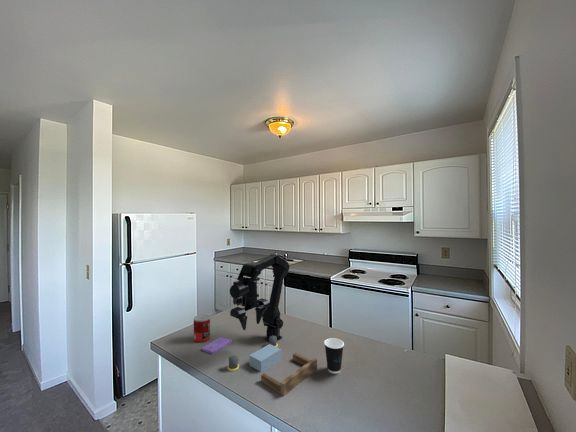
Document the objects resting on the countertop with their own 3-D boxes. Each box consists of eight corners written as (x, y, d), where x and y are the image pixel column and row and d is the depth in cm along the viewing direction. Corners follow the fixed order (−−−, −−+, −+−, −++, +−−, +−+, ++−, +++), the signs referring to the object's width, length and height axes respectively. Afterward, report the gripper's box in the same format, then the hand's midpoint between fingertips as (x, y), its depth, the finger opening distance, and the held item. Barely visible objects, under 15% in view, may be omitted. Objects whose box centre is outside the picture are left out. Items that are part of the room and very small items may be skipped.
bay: (295, 358, 110) (295, 349, 110) (317, 369, 102) (317, 359, 102) (261, 381, 95) (261, 370, 95) (283, 395, 87) (283, 384, 87)
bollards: (272, 342, 124) (272, 334, 124) (279, 345, 121) (279, 337, 121) (225, 368, 103) (225, 358, 103) (232, 372, 100) (232, 362, 100)
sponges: (201, 351, 117) (201, 347, 117) (221, 339, 128) (221, 336, 128) (212, 355, 114) (212, 351, 114) (231, 343, 125) (231, 339, 125)
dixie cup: (339, 378, 96) (339, 350, 96) (320, 371, 101) (320, 344, 101) (347, 368, 103) (347, 341, 103) (329, 362, 107) (329, 336, 107)
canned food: (205, 343, 124) (205, 321, 124) (190, 341, 125) (190, 319, 125) (212, 336, 131) (212, 314, 131) (198, 334, 133) (198, 313, 133)
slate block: (269, 353, 115) (269, 343, 115) (281, 359, 110) (281, 349, 110) (249, 366, 105) (249, 355, 105) (261, 372, 101) (261, 361, 101)
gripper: (254, 284, 126) (254, 315, 126) (222, 293, 112) (222, 328, 112) (270, 288, 118) (270, 321, 119) (238, 299, 104) (238, 336, 105)
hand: (251, 326), depth 114 cm, fingers open, 8 cm apart
